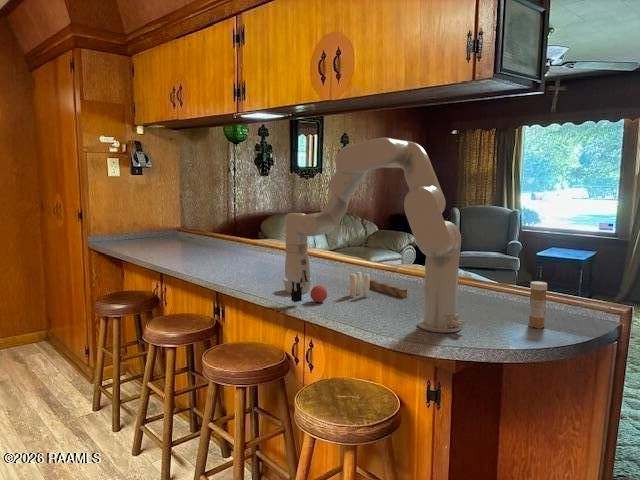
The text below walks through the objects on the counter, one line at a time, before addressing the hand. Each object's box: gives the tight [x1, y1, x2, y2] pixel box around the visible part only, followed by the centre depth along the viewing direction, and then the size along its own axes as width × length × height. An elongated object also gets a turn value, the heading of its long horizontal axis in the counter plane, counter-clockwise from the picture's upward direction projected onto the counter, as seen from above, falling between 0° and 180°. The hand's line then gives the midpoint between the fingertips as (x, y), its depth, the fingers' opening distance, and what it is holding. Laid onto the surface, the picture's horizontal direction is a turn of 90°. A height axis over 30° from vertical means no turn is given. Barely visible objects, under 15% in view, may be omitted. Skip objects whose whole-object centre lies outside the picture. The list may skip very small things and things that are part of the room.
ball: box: [310, 285, 328, 303], centre depth 173 cm, size 6×6×6 cm
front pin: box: [349, 273, 357, 299], centre depth 181 cm, size 2×2×8 cm
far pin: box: [354, 271, 362, 296], centre depth 185 cm, size 2×2×8 cm
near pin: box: [362, 273, 371, 298], centre depth 181 cm, size 2×2×8 cm
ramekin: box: [283, 276, 313, 295], centre depth 190 cm, size 11×11×5 cm
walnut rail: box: [369, 278, 408, 299], centre depth 190 cm, size 22×2×3 cm, turn 32°
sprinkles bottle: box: [528, 280, 548, 329], centre depth 144 cm, size 5×5×13 cm
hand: (296, 301), depth 168 cm, fingers closed
